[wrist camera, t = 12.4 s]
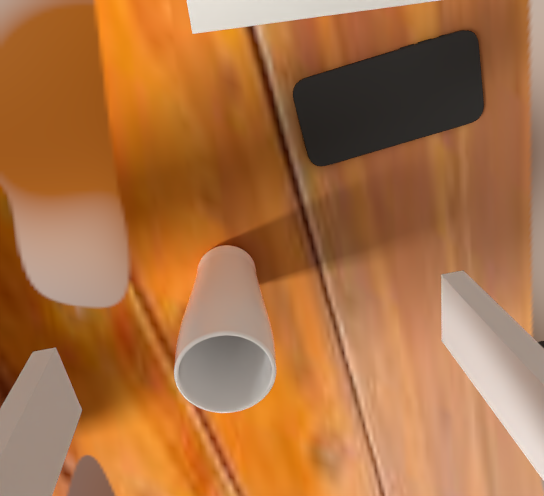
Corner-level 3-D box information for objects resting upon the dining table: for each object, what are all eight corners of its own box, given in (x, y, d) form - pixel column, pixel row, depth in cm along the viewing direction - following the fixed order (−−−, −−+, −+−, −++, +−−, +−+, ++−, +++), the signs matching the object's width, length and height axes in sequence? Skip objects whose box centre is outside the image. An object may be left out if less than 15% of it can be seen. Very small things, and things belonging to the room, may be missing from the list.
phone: (289, 82, 38) (477, 25, 37) (288, 81, 39) (472, 25, 38) (312, 170, 41) (485, 119, 40) (310, 167, 42) (480, 117, 41)
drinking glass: (259, 302, 47) (271, 417, 33) (188, 298, 46) (170, 413, 32) (267, 238, 44) (284, 334, 30) (192, 232, 43) (174, 327, 29)
